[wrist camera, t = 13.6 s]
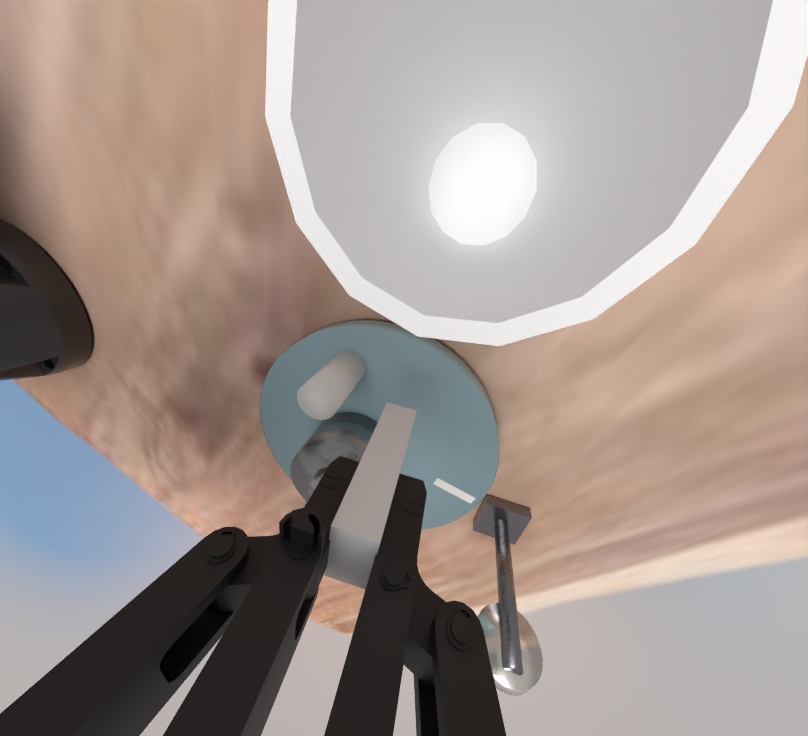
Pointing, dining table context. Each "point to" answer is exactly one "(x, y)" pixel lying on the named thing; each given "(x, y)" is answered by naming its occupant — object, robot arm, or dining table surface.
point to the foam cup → (518, 145)
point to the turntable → (397, 384)
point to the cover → (330, 448)
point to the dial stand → (507, 603)
